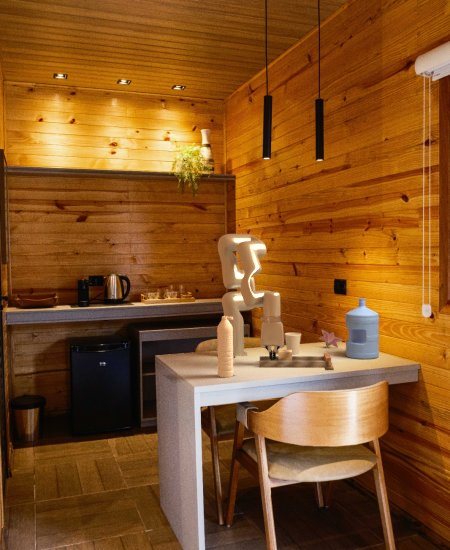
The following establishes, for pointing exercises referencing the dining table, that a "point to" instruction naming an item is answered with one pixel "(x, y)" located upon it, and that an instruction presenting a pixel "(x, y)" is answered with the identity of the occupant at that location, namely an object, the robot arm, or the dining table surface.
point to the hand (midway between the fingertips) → (272, 360)
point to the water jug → (362, 332)
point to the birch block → (285, 355)
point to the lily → (330, 339)
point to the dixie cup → (293, 342)
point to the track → (298, 362)
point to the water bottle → (225, 347)
